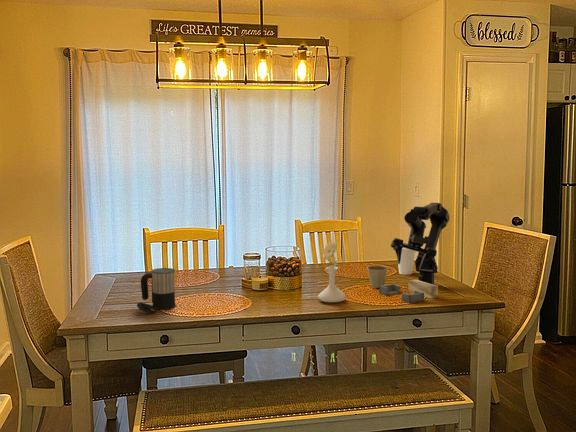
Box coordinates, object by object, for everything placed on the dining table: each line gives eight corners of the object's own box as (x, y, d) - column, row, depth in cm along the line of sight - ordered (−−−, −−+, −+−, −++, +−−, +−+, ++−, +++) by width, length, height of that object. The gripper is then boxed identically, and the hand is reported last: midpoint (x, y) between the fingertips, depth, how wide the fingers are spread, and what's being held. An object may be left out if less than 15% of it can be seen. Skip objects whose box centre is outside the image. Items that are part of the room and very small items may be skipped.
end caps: (393, 291, 246) (393, 283, 245) (423, 300, 229) (423, 293, 229) (379, 293, 242) (379, 285, 242) (409, 303, 225) (409, 295, 225)
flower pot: (387, 289, 249) (387, 270, 248) (366, 288, 251) (366, 269, 250) (388, 284, 258) (388, 266, 257) (367, 283, 260) (367, 265, 259)
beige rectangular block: (415, 290, 247) (415, 279, 246) (437, 297, 235) (438, 285, 234) (408, 291, 245) (408, 280, 245) (430, 298, 233) (430, 287, 232)
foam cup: (392, 273, 284) (392, 247, 282) (404, 270, 289) (405, 245, 288) (406, 276, 276) (406, 249, 275) (419, 273, 282) (419, 247, 280)
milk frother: (177, 303, 228) (176, 267, 226) (174, 314, 212) (172, 275, 211) (141, 304, 226) (139, 268, 225) (135, 315, 211) (133, 276, 209)
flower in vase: (316, 298, 235) (316, 238, 232) (343, 297, 235) (343, 238, 233) (320, 306, 222) (320, 243, 219) (348, 305, 222) (349, 242, 220)
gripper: (400, 221, 236) (392, 255, 230) (443, 233, 235) (436, 268, 229) (394, 229, 246) (386, 262, 241) (435, 241, 245) (428, 275, 240)
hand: (409, 267), depth 238 cm, fingers open, 9 cm apart
